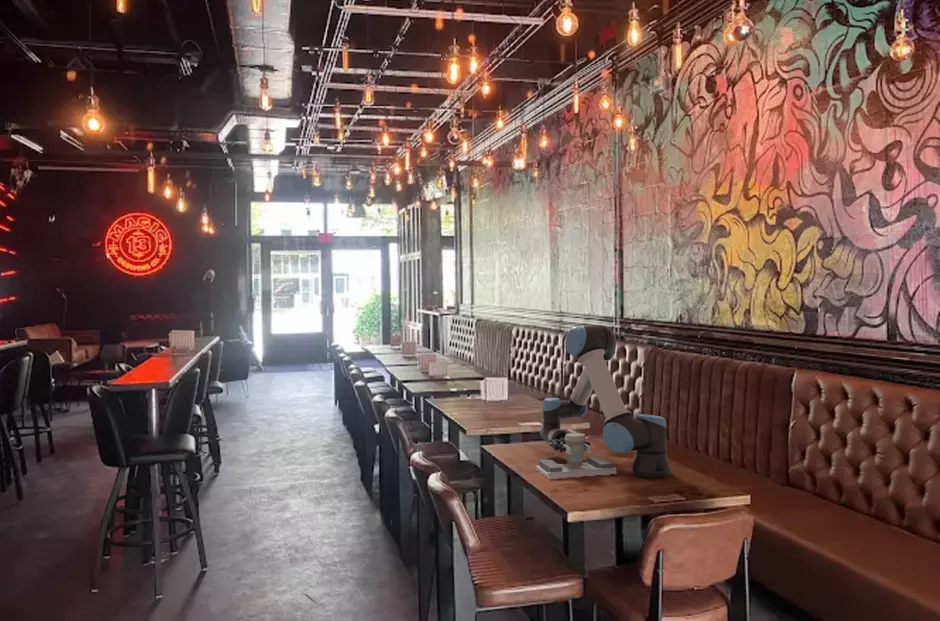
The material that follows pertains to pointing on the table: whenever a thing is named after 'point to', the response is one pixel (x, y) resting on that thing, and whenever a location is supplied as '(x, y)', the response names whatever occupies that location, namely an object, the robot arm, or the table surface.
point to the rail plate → (575, 468)
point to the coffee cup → (575, 448)
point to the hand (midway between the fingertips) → (579, 450)
